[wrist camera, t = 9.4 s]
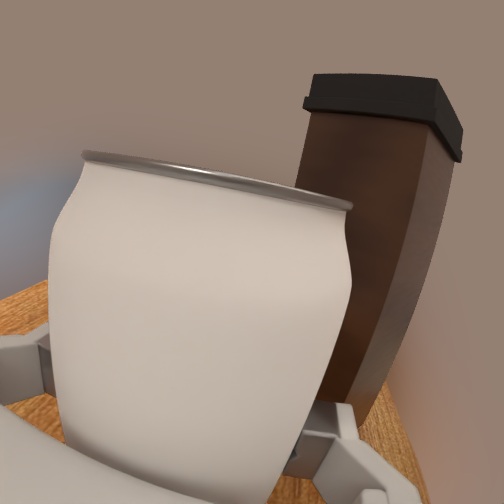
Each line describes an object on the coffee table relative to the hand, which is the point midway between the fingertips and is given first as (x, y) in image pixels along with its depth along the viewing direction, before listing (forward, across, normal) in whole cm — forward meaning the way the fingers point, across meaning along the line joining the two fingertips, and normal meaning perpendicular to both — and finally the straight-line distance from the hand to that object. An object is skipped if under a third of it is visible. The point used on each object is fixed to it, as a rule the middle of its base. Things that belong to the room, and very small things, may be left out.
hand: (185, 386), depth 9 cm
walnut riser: (+17, -8, +14) cm, 24 cm away
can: (-1, 0, +6) cm, 6 cm away
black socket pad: (+17, -8, -12) cm, 22 cm away
